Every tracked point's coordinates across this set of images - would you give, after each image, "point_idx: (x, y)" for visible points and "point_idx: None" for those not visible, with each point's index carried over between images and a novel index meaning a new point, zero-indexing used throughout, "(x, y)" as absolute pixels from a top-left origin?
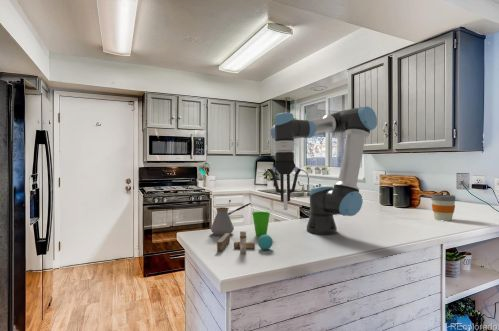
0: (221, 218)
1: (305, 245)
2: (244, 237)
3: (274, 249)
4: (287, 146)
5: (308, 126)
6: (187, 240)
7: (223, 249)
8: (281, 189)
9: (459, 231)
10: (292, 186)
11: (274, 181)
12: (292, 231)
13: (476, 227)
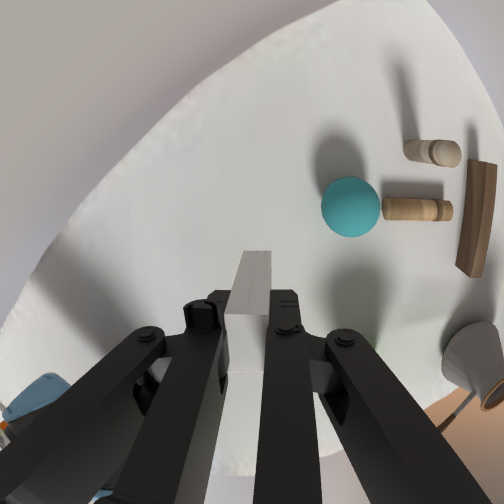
0: (494, 358)
1: (201, 269)
2: (434, 140)
3: (311, 205)
4: None
5: None
6: None
7: (468, 178)
8: (294, 352)
9: None
10: (130, 369)
11: (424, 430)
12: (253, 404)
13: None
